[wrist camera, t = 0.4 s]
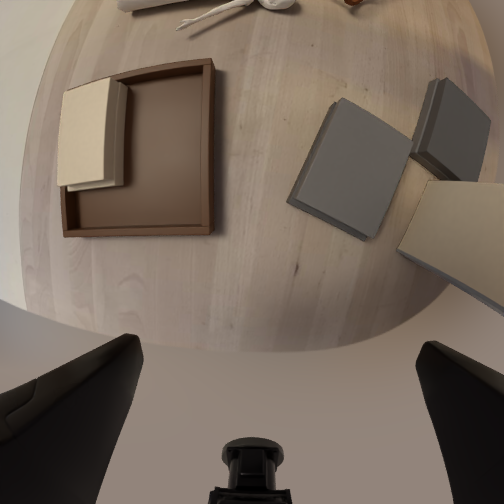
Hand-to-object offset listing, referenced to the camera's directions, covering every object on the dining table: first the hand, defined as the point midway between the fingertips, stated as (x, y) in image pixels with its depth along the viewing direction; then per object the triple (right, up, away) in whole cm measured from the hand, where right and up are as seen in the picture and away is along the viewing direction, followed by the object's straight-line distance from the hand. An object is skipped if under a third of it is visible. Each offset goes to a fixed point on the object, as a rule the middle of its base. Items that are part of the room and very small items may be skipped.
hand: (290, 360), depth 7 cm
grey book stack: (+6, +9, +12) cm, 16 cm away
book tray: (-11, +11, +12) cm, 20 cm away
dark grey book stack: (+16, +14, +11) cm, 24 cm away
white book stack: (-14, +12, +11) cm, 22 cm away
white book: (+14, +6, +13) cm, 20 cm away
